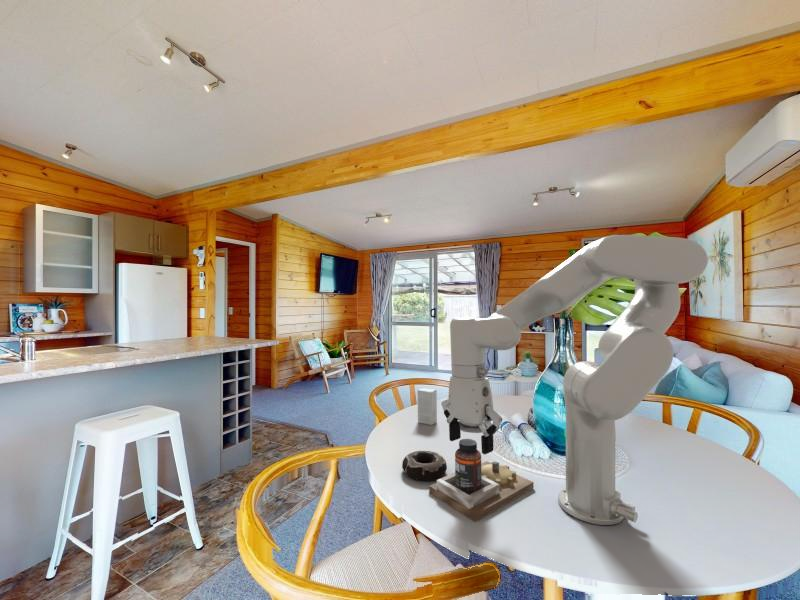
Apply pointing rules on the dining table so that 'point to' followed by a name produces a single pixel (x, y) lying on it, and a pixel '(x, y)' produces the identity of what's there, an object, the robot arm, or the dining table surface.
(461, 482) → the supplement bottle
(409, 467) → the donut
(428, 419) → the skincare box
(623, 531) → the dining table surface
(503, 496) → the gear board
